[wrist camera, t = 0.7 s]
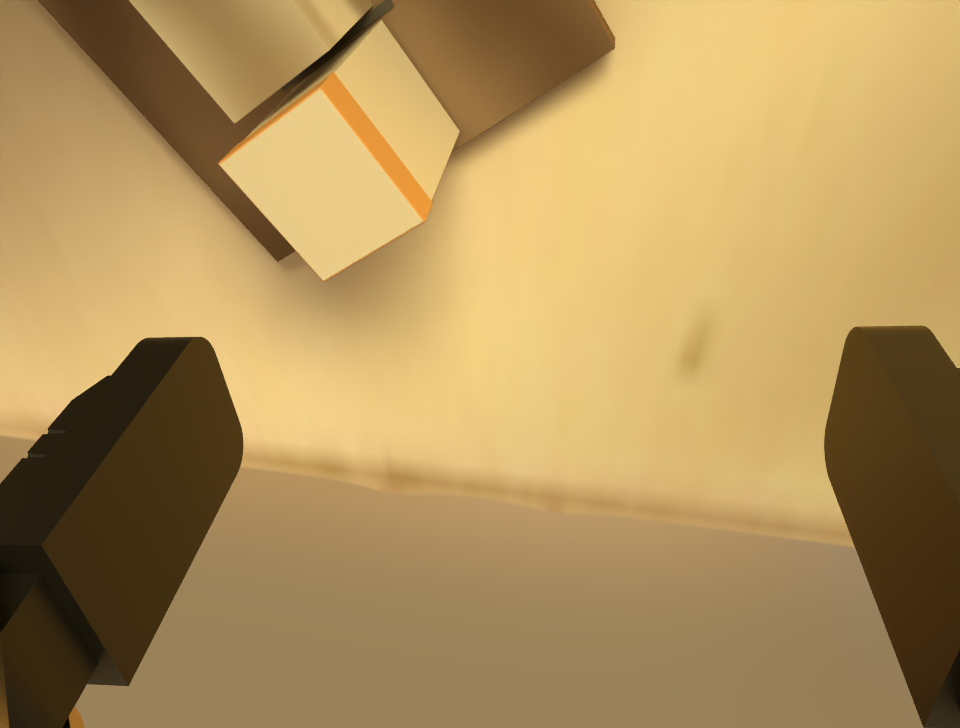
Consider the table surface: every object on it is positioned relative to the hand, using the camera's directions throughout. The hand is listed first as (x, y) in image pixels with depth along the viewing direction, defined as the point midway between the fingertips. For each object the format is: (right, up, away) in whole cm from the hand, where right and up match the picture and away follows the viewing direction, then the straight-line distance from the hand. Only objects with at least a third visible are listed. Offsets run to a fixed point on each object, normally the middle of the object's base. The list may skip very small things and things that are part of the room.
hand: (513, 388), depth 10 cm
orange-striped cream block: (-4, +9, +17) cm, 20 cm away
